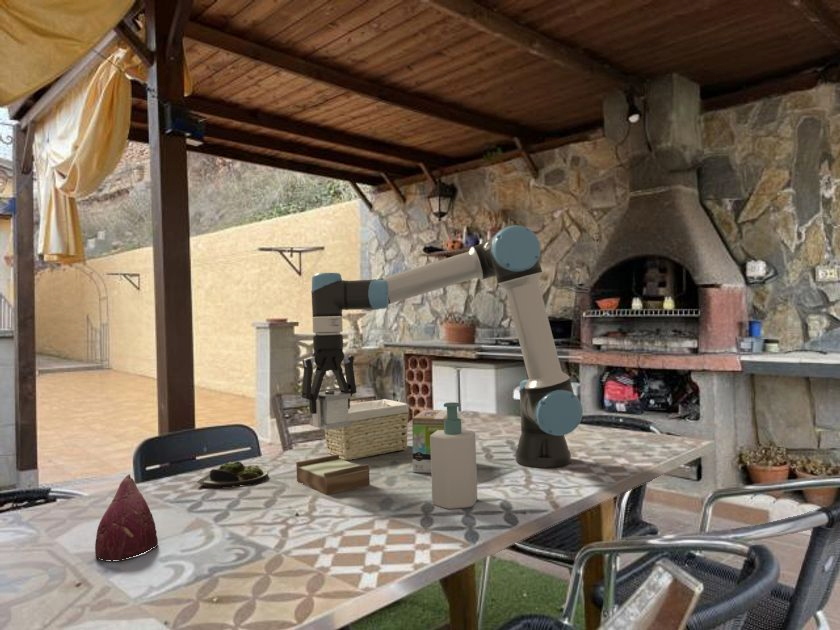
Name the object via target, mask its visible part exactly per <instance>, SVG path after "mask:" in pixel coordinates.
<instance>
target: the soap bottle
mask: <svg viewBox="0 0 840 630" xmlns="http://www.w3.org/2000/svg"><path fill="white" fill-rule="evenodd" d="M460 406H461V404H460V403H459V402H445V403H444V404H443V407H444V408H446V410H447V419H444V430H437V431H436V432H434V433H433V434H432V435H431V436H430V447H431V473H430V474H431V498H432V499H431V500H432V501H431V503H432V505H434V506H437V507H440V508H443V509H447V510H457V509H465V508H466V509H467V508H472V507H473V506H474V504H475V503H476V501H478V477H477V476H478V475H477V450H476V449H477V445H476V432H475V431H474V430H467V429H462V419H461V418H459V417H458V408H459V407H460Z"/></svg>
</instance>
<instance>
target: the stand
mask: <svg viewBox="0 0 840 630" xmlns="http://www.w3.org/2000/svg"><path fill="white" fill-rule="evenodd" d="M295 466H296V482H297V481H298V482H297V483H299V482H300V484H302V483H303V485H304V484H305V485H304V486H306V485H307V487H308V486H309V487H308V488H310V487H311V488H310V489H313V490H315V491H317V490H318V491H317V492H319V491H320V493H322V494H324V495H326V496H329V495H332V494H337V493H342V492H345V491H350V490H353V489H358V488H363V487H368V486H371V485H370V484H371V483H370V465H369V464H361V465H360V464H359V465H358V464H356V463H352V462H349V461H348V460H343V459H341V458H339V455H332V454H330V455H327V456H322V457H316V458H311V459H305V460H301V461H296V465H295Z"/></svg>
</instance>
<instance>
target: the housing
mask: <svg viewBox="0 0 840 630" xmlns="http://www.w3.org/2000/svg"><path fill="white" fill-rule="evenodd" d="M349 398H350V399H351V398H352V396H351V394H350V393H344V392H341V391H337V390H324V391H319V394H318V398H317V400H319V401H320V414H321V427H317V428H318V429H322V430H324V429H325V430H330V429H336V428H343V427H349V426H351V421H349V418H348V399H349ZM311 416H312V417H311V418H312V419H311V420H309V426H310V427H315V426H313V414H311ZM315 428H316V427H315ZM325 430H324V431H325Z"/></svg>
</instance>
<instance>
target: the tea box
mask: <svg viewBox="0 0 840 630" xmlns="http://www.w3.org/2000/svg"><path fill="white" fill-rule="evenodd" d="M444 419H447V409H445V410H444V409H423V410H421V411H420V412H419V413H416V415H415V416H413V417H412V430H411V431H412V472H413V473H423V474H424V473H426V474H428V473H429V474H431V447H430V436H431V435H432V434H433V433H434V432H436V431H437V430H444Z"/></svg>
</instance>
